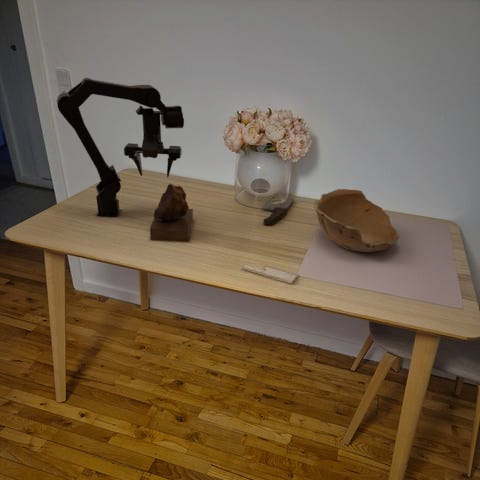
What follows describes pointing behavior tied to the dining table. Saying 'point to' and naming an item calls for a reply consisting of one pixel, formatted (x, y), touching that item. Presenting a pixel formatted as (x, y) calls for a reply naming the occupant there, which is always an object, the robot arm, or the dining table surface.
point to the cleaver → (276, 210)
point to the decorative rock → (172, 204)
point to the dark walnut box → (172, 228)
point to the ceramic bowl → (354, 221)
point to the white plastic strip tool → (273, 273)
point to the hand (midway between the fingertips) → (154, 176)
